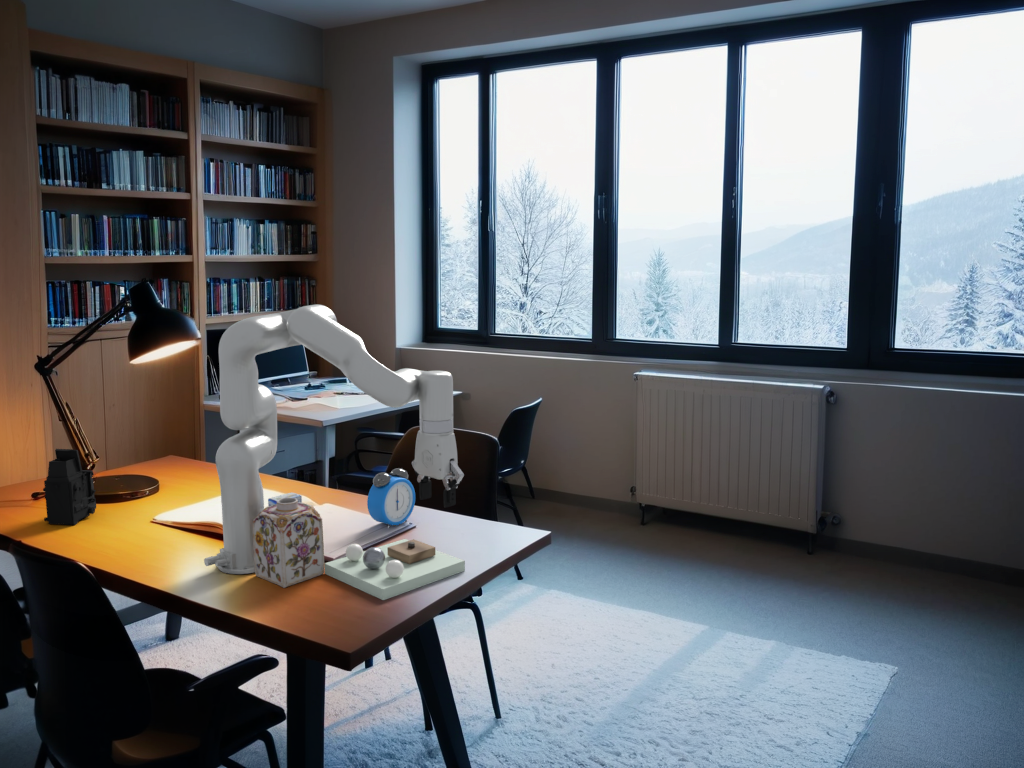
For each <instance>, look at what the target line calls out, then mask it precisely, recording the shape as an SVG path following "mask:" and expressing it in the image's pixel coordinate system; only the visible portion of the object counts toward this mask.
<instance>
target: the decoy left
mask: <svg viewBox="0 0 1024 768" xmlns="http://www.w3.org/2000/svg"><path fill="white" fill-rule="evenodd" d="M363 551H364V550H363V547H362V546H361V545H360V544H358V543H352V544H351V543H350V544H349V545H348V546H347V547H346V549H345V557H347V558H348V559H349V560H351V561H357V560H359V559H360V558H361V557H362V555H363Z"/></svg>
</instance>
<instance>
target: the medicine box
mask: <svg viewBox="0 0 1024 768" xmlns="http://www.w3.org/2000/svg"><path fill="white" fill-rule="evenodd" d="M302 497H303V495H301V494H298V493H296V492H288V493H284V494H283V493H282V494H281V495H276V496H272V497H269V498H268V499H267V507H268V506H272V505H275V504H277V500H279V499H281V498H296V499H297V500H298V503H303V502H302V501H303V498H302Z"/></svg>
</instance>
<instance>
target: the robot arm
mask: <svg viewBox="0 0 1024 768" xmlns="http://www.w3.org/2000/svg"><path fill="white" fill-rule="evenodd" d="M301 345H302V346H303V347H305V348H306V349H308V350H310V352H313V353H314V354H316V355H317V356H319V357H321V358H323V359H324V360H325V361H327V362H328V363H330V364H332V365H333V366H335V367H336V368H338V369H339V370H340V371H341V373H343V375H344V376H345V377H346V378H347V379H348V380H349V381H350V382H351V383H352V384H353V385H354V386H355V387H356V388H357V389H359V390H360V391H361V392H362V393H364V394H366V395H367V396H369V397H370V398H372V399H373V400H375V401H377V402H379V403H380V404H382V405H384V406H387V407H390V408H397V409H398V408H402V407H404V406H405V405H407V404H409V403H411V402H414V401H416V400H417V401H419V402H418V403H419V420H418V421H419V430H418V431H417V434H416V440H415V449H414V459H413V460H412V461H411V465H412V468H413V469H414V474H415V476H416V477H417V478H416V481H417V483H418V487H419V488H418V489H419V490H418V493H419V494H418V495H419V496H418V498H419V500H421V501H423V500H424V501H425V500H428V499H430V498H432V480H430V479H431V478H432V479H436V480H442V483H443V486H444V488H445V489H443V491H442V492H443V496H442V497H443V500H442V501H443V507H444V508H449V507H453V506H455V505H456V504H457V499H456V498H457V496H456V495H457V490H456V489H458V486H459V485H460V483H462V480H463V478H464V476H465V474H464V472H463V471H462V469H461V468H460V467H459V465H458V463H459V462H458V448H457V441H456V436H455V433H454V380H453V379H454V377H453V375H452V373H451V372H449V371H445V370H428V371H427V370H419V369H415V368H408V367H405V368H400V369H398V370H395V371H393V370H391V369H390V368H388V367H386V366H385V365H384V364H382V363H380V362H379V361H378V360H376V359H375V358H374V357H373V356H372V355H371V354H369V352H368V351H367V349H366V346H365V343H364V340H363V338H362V337H361V336H359V334H356V333H355V332H353V331H352V330H350V329H348V328H347V327H345V326H344V325H341V324H340V323H339V322H338V319H337V317H336V314H335V313H334V311H333V310H332V309H330V308H329V307H327V306H326V305H324V304H316V303H315V304H310V305H303V306H300V307H297V308H295V309H291V310H290V309H289V310H287V311H281V312H275V313H274V312H273V313H269V314H263V315H255V316H251V317H247V318H244V319H242V320H239V321H236V322H235V323H233V324H231V325H230V326H229V327H228V328H226V329H225V331H224V332H223V334H222V335H221V337H220V339H219V343H218V363H219V365H218V366H219V415H220V418H221V421H222V423H223V425H224V426H225V427H226V428H228V429H229V430H233V431H239V433H237V434H234V435H233V436H230V437H228V438H227V439H225V440H224V441H223V442H222V443H221V444H220V445H219V446H218V449H217V451H216V454H215V467H216V471H217V475H218V479H219V487H220V498H221V499H220V500H221V501H220V502H221V515H222V516H221V518H222V534H223V535H222V536H223V548H219V552H218V553H217V554H216V555H214V556H213V555H212V556H209V557H205V558H204V559H203V561H204V562H203V563H204V565H205V566H206V567H209V566H212V565H215V567H217V568H218V570H219V571H220V572H222V573H225V574H230V575H245V574H246V575H247V574H253V573H255V565H254V543H253V520H254V519H255V518H256V517H257V516H258V514H259V513H260V512H261V511H263V510H264V509H265V498H264V487H263V482H262V479H261V477H260V472H259V471H260V470H259V469H260V468H262V467H264V466H266V465H267V464H268V463H271V461H272V460H273V459H274V457H275V456H276V453H277V450H278V409H277V408H278V407H277V400H276V397H275V395H274V393H273V392H272V391H271V390H270V388H268V387H267V386H266V385H263V384H259V369H258V364H257V362H256V356H257V355H261V354H265V353H268V352H269V353H270V352H273V351H276V350H280V349H285V348H289V347H295V346H301ZM449 480H450V482H449Z"/></svg>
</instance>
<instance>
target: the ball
mask: <svg viewBox="0 0 1024 768" xmlns="http://www.w3.org/2000/svg"><path fill="white" fill-rule="evenodd" d="M377 547H378V546H377ZM377 547H376V546H371V547H369V548H367V549H366V550H364V551H365V553H364V555H363V562H364V564H365V566H366V567H367V568H369V569H373V570H374V569H378V568H380V567H381V566H382V565H383V564H384V561H385V554H384V552H383V551H382V550H381V549H380V548H377Z"/></svg>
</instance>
